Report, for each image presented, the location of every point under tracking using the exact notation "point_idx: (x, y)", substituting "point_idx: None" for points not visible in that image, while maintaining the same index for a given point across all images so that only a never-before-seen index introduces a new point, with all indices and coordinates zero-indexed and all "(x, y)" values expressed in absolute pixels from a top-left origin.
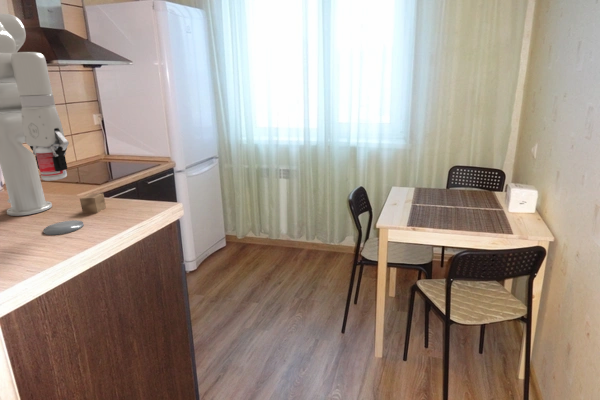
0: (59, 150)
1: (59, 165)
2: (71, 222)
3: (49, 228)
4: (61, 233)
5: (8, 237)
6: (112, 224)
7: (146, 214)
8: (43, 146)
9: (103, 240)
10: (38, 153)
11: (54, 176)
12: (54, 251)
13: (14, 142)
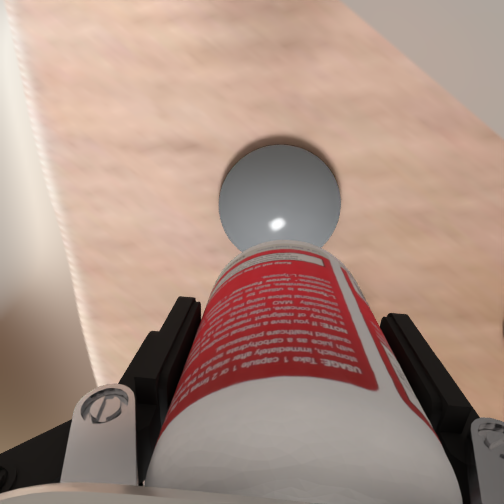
0: (7, 464)
1: (153, 338)
2: None
3: (313, 179)
4: (237, 162)
5: (416, 80)
6: (152, 272)
7: (128, 356)
8: (153, 489)
9: (53, 158)
10: (302, 374)
11: (220, 273)
12: (114, 28)
13: None
